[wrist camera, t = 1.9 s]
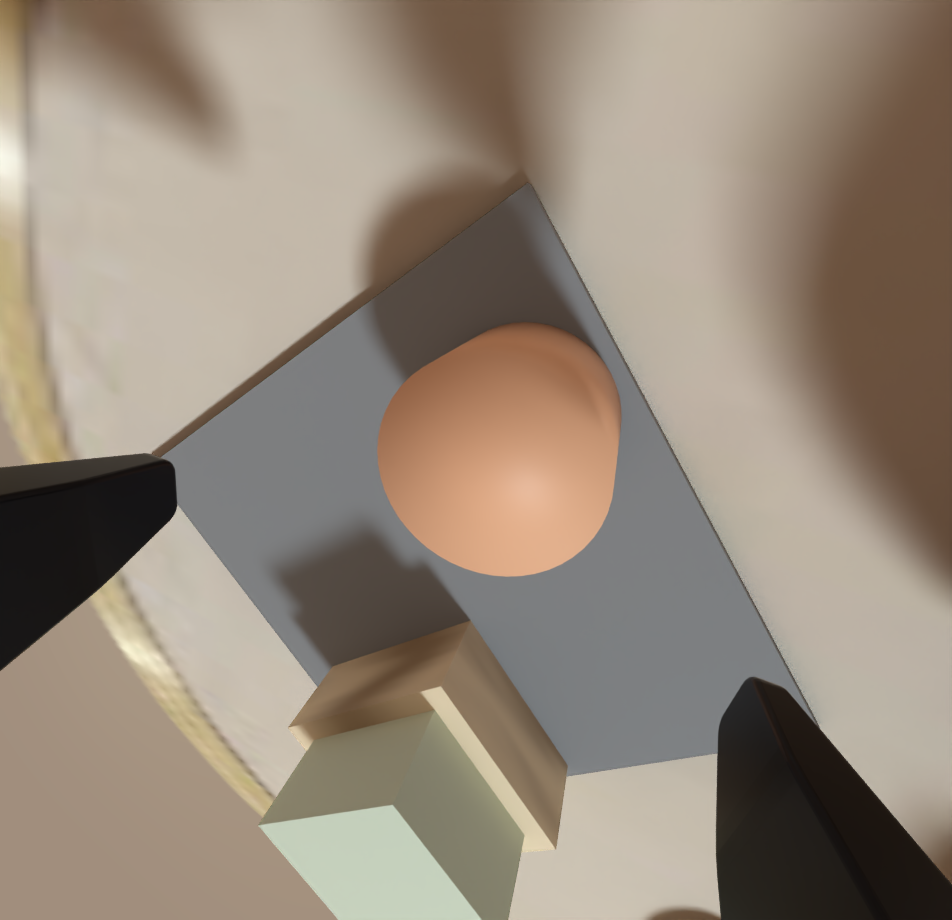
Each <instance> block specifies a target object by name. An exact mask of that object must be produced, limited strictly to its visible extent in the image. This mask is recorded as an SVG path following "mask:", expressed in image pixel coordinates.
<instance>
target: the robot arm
mask: <svg viewBox="0 0 952 920" xmlns="http://www.w3.org/2000/svg"><path fill="white" fill-rule="evenodd" d="M176 509H177V488H176V472H175V468H174V466H173V464H172V463H171V462H170V461H168V460H166V459H163V458H161V457H158V456H155V455H152V454H147V453H143V454H133V455H123V456H113V457H102V458H92V459H82V460H72V461H62V462H52V463H42V464H32V465H22V466H12V467H2V468H0V671H1V670H2V669H3V668H5V667H6V666H7V665H8V664H9V663H10V662H12V661H13V660H14V659H16V658H17V657H18V656H19V655H20V654H21V653H23V652H24V651H25V650H26V649H28V648H29V647H30V646H31V645H32V644H34V643H35V642H36V641H37V640H39V639H40V638H41V637H42V636H43V635H45V634H46V633H47V632H48V631H49V630H51V629H52V628H53V627H54V626H55V625H57V624H58V623H59V622H60V621H61V620H63V619H64V618H65V617H66V616H68V615H69V614H70V613H71V612H72V611H74V610H75V609H76V608H77V607H79V606H80V605H81V604H82V603H83V602H85V601H86V600H87V599H88V598H89V597H90V596H92V595H93V594H94V593H95V592H96V591H97V590H99V589H100V588H101V587H102V586H103V585H104V584H105V583H106V582H107V581H108V580H109V579H110V578H112V577H113V576H114V575H115V574H116V573H117V572H118V571H119V570H120V569H121V568H122V567H123V566H124V565H125V564H126V563H127V562H128V561H129V560H130V559H131V558H132V557H133V556H134V555H135V554H136V553H137V552H138V551H139V550H140V549H141V548H142V547H143V546H144V545H145V544H146V543H147V542H148V541H149V540H150V539H151V538H152V537H153V536H154V535H155V534H156V533H157V532H158V531H159V530H160V529H162V528H163V527H164V526H165V525H166V524H167V523H168V522H169V521H170V520H171V518H172V517H173V515H174V514H175V512H176ZM716 862H717V878H718V890H719V901H720V913H721V920H952V884H951V883H950V882H949V881H948V880H947V878H946V877H945V876H944V875H943V874H942V873H941V871H940V870H939V869H938V868H937V867H936V865H935V864H934V863H933V862H932V861H931V860H930V858H929V857H928V856H927V855H926V854H925V852H924V851H923V850H922V849H921V848H920V847H919V845H918V844H917V843H916V842H915V841H914V839H913V838H912V837H911V836H910V835H909V834H908V832H907V831H906V830H905V829H904V828H903V826H902V825H901V824H900V823H899V822H898V821H897V819H896V818H895V817H894V816H893V815H892V813H891V812H890V811H889V810H888V809H887V808H886V806H885V805H884V804H883V803H882V802H881V800H880V799H879V798H878V797H877V796H876V795H875V793H874V792H873V791H872V790H871V789H870V787H869V786H868V785H867V784H866V783H865V782H864V780H863V779H862V778H861V777H860V776H859V775H858V773H857V772H856V771H855V770H854V769H853V767H852V766H851V765H850V764H849V763H848V762H847V760H846V759H845V758H844V757H843V756H842V754H841V753H840V752H839V751H838V750H837V749H836V747H835V746H834V745H833V744H832V743H831V741H830V740H829V739H828V738H827V737H826V736H825V734H824V733H823V732H822V731H821V730H820V728H819V727H818V726H817V725H816V724H815V723H814V721H813V720H812V719H811V718H810V717H809V715H808V714H807V713H806V712H805V711H804V710H803V708H802V707H801V706H800V705H799V704H798V702H797V701H796V700H795V699H794V698H793V697H792V695H791V694H790V693H789V692H788V691H787V690H786V689H785V688H784V687H782V686H780V685H777V684H774V683H772V682H769V681H766V680H764V679H761V678H758V677H749V678H747V679H746V680H745V681H744V682H743V684H742V685H741V687H740V688H739V690H738V692H737V693H736V695H735V696H734V698H733V700H732V701H731V703H730V704H729V706H728V708H727V709H726V711H725V712H724V714H723V716H722V718H721V721H720V724H719V729H718V756H717V805H716Z"/></svg>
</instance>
